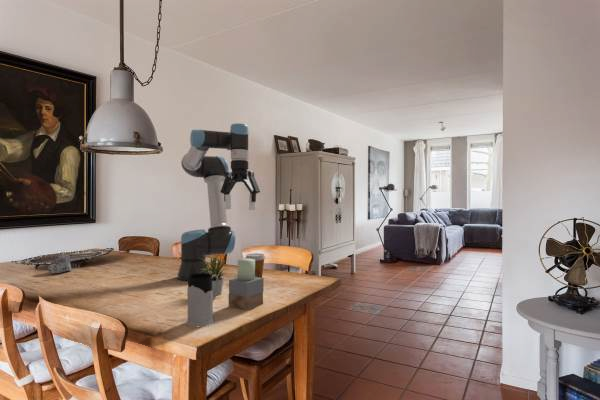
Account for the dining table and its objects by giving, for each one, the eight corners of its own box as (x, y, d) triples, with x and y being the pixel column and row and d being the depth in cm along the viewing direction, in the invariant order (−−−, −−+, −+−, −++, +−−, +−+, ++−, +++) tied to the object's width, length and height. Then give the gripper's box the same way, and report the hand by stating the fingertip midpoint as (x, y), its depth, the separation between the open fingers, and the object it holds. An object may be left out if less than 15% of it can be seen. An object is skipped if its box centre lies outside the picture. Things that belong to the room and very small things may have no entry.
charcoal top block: (228, 293, 132) (228, 279, 132) (245, 288, 140) (245, 275, 140) (247, 297, 127) (247, 283, 127) (263, 291, 135) (263, 278, 135)
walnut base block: (228, 307, 132) (228, 293, 132) (244, 300, 140) (244, 288, 140) (247, 311, 127) (247, 297, 127) (262, 304, 135) (262, 291, 135)
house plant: (193, 291, 153) (193, 252, 153) (226, 287, 159) (225, 250, 159) (198, 299, 140) (197, 258, 140) (233, 295, 146) (233, 255, 145)
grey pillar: (180, 325, 113) (179, 277, 113) (207, 311, 126) (207, 269, 126) (203, 328, 110) (203, 280, 110) (228, 314, 123) (228, 270, 123)
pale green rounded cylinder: (245, 276, 138) (245, 257, 138) (258, 278, 134) (258, 259, 134) (233, 278, 133) (234, 260, 133) (246, 281, 129) (247, 262, 129)
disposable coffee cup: (266, 277, 179) (266, 253, 179) (263, 281, 169) (262, 256, 169) (248, 276, 180) (248, 253, 180) (243, 281, 170) (243, 256, 170)
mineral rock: (49, 276, 182) (49, 256, 182) (40, 274, 188) (40, 254, 188) (77, 272, 192) (76, 253, 192) (67, 269, 198) (67, 251, 198)
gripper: (212, 161, 158) (212, 209, 158) (256, 157, 144) (256, 210, 145) (224, 162, 164) (224, 208, 164) (268, 159, 151) (268, 209, 151)
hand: (239, 209), depth 154 cm, fingers open, 13 cm apart
